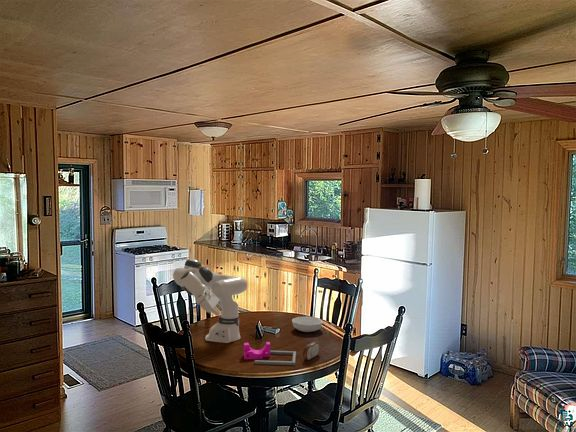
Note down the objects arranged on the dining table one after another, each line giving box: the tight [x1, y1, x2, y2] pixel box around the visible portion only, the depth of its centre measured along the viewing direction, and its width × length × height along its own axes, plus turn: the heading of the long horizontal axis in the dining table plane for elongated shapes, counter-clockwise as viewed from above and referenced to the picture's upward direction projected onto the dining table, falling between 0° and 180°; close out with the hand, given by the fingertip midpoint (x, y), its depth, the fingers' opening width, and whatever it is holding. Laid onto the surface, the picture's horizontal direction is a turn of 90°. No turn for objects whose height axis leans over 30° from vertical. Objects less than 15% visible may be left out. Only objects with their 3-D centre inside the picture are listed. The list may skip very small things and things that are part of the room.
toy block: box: [243, 341, 271, 360], centre depth 250 cm, size 15×6×8 cm, turn 99°
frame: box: [254, 350, 297, 366], centre depth 248 cm, size 22×17×2 cm
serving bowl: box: [291, 316, 323, 333], centre depth 301 cm, size 21×21×7 cm
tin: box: [302, 340, 320, 361], centre depth 251 cm, size 15×3×8 cm, turn 146°
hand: (220, 312), depth 248 cm, fingers open, 8 cm apart
